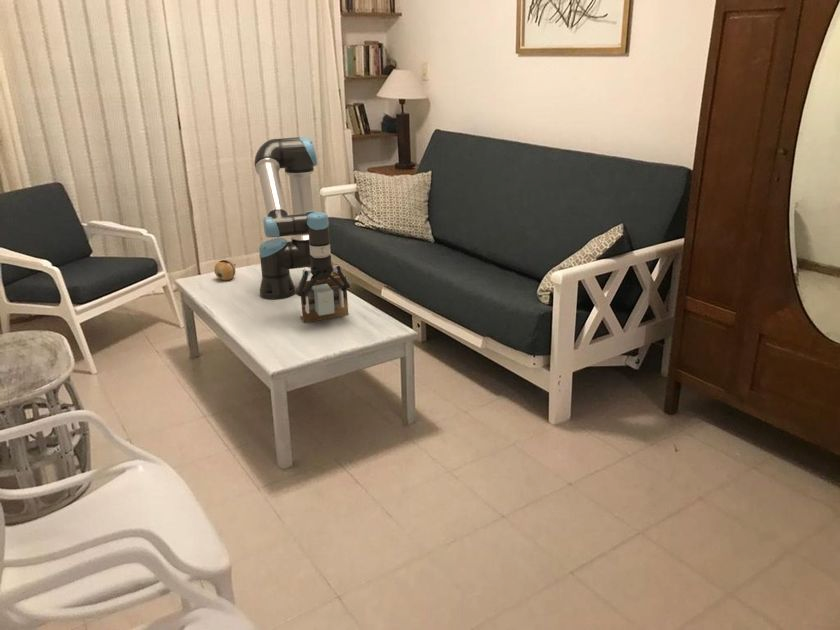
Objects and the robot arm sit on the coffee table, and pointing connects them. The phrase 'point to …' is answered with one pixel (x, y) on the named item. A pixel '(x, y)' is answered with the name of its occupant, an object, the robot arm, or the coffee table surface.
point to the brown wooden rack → (337, 308)
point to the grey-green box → (323, 299)
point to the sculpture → (225, 270)
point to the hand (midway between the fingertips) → (324, 309)
